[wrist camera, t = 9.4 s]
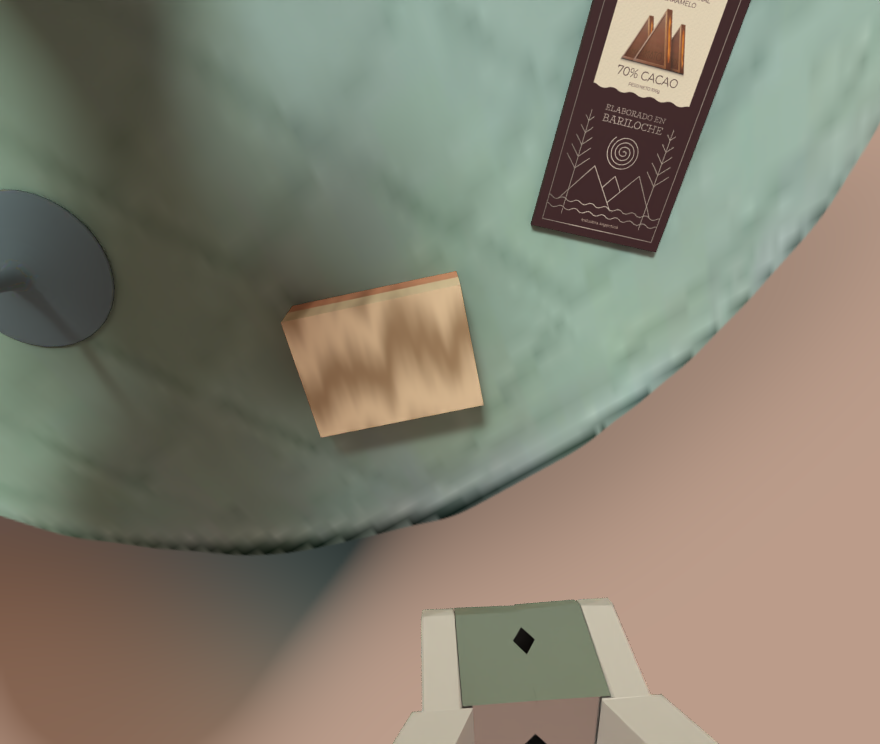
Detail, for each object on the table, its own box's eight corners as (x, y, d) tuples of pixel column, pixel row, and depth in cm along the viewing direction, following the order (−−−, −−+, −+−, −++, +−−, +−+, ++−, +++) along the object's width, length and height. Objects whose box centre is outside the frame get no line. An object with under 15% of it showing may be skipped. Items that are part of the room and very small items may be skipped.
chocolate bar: (532, 224, 36) (624, -107, 29) (529, 222, 37) (618, -100, 30) (655, 252, 37) (773, -62, 30) (650, 249, 38) (763, -56, 31)
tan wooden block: (455, 269, 38) (293, 304, 39) (460, 284, 34) (280, 322, 35) (477, 381, 42) (329, 411, 42) (483, 405, 38) (320, 437, 39)
